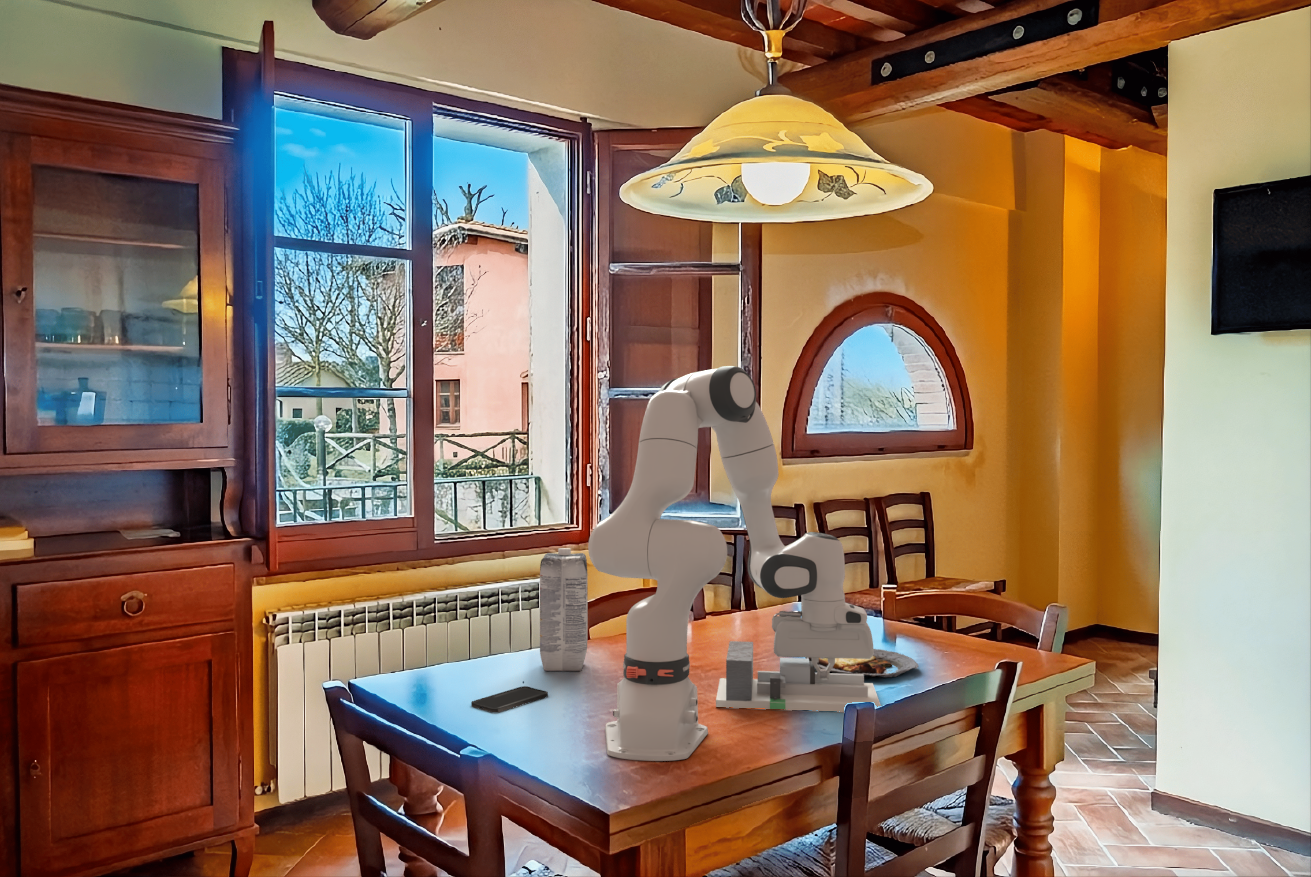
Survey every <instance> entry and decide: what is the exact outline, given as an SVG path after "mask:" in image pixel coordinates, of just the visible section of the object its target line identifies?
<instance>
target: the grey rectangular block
mask: <svg viewBox="0 0 1311 877" xmlns="http://www.w3.org/2000/svg"><path fill="white" fill-rule="evenodd" d="M725 664H726V665H725V666H726V667H725V673H726V674H725V678H726V700H727V701H746V700H749V701H750V700H752V687H753V679H754V641H739V640H738V641H736V640H735V641H734V640H730V641H729V643H728V648H727V655H726V663H725Z"/></svg>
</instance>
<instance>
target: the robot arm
mask: <svg viewBox="0 0 1311 877" xmlns="http://www.w3.org/2000/svg"><path fill="white" fill-rule="evenodd" d="M756 390H757V389H756V386H755V383H754V381H753V379H752V377H751V376H750V375H749V374H748V372H746V370H744V369H743V368H741V367H740V366H736V365H735V366H733V365H727V366H726V365H725V366H724V365H723V366H720V367H718V368H711V369H707V370H699V371H698V370H697V371H695V372H691V373H689V374H688V373H687V374H685V375H683V376H681V377H678V378H672V379H671V380H668V381H667V382H666V383H664V384H663V385H662V386H661V387H660V388H659V390H658V391H657V393H654V394H653V395H652V396H651V397H650V398H649V400H648V403H647V405H646V408H645V413H644V416H643V419H642V423H641V427H640V432H639V433H640V434H639V438H638V445H637V446H638V447H637V456H636V462H635V468H634V473H633V478H632V480H631V481H632V482H631V485H630V487H629V489H628V492H627V494H626V495H625V497H624V499H623V500H622V502H621V503H620V504H619V505H618V507H617V508H616V509H615V510H614V511H613V512H612V513H611V514H609V515H608V516H607V517H606V518H604V519H603V520H600V522H598V523H597V524H596V526H595V527H593V529H592V531H591V534H590V536H589V538H588V549H587V550H588V555H589V559H590V562H591V563H592V565H593V567H594V568H595V569H596V570H597V571H598V572H601V573H604V574H606V575H611V576H615V577H619V578H623V579H624V578H625V579H626V578H627V579H646V580H655V581H657V582H656V583H657V588H656V592H655V593H654V594H653V595H650V596H648V597H646V598H643V599H642V600H640V601H638V602H637V603H635V604H634V605H633V606H631V608H630V609H629V611H628V612H627V616H626V619H625V620H626V621H625V622H626V633H625V634H626V644H625V645H626V651H625V654H624V658H623V662H622V663H623V665H622V667H623V671H622V672H623V674H622V675H623V678H622V680H620V681H619V682H617V683H616V684H617V685H616V690H617V691H616V692H617V694H616V709H613V710H612V716H613V718H616V720H612V721H608V722H606V723H605V726H604V727H605V728H604V732H605V743H606V753H607V755H608V756H611V757H613V758H617V759H623V760H624V759H625V760H633V761H645V762H646V761H648V762H649V761H650V762H651V761H652V762H654V761H655V762H663V761H664V762H666V761H667V762H668V761H669V762H671V761H680V760H685V759H688V758H689V757H690V756H691V755H692V753H693V752H694V751H695V750H696V749H697V747H698V746H699V745H700V744H701V742H702V741H703V740H704V739H705V737H706V736H707V735H708V734H709V729H708V728H709V727H708V726H706V725H704V724H701V723H699V709H698V708H699V707H698V706H699V704H698V702H699V701H698V687H697V685H696V684H695V683H694V682H692V681H691V678H690V677H689V676H690V666H691V664H690V663H691V662H690V655H689V654H688V630H689V628H688V627H689V617H690V612H691V610H692V606H693V604H694V601H695V599H696V597H697V596H698V594H699V593H700V592H701V590H702V589H703V588H704V587H705V586H706V585H707V584H708V583H710V581H712V580H714V579H715V578H717V576H718V575H719V574H720V573H721V572H722V570H723V569H724V567H725V564H726V562H727V557H728V545H727V540H726V538H725V536H724V535H723V533H722V531H721V530H720V529H719V527H717V526H716V525H713V524H710V523H706V522H701V521H696V520H692V519H691V520H689V519H671V518H670V519H669V518H667V519H666V518H665V519H664V518H661V517H662V515H663V514H664V512H665V511H666V509H667V508H669V507H670V506H671V505H673V504H675V503H678V502H680V501H682V500H683V499H685V498H686V497H687V496H688V495H689V494H690V493H691V491H692V490H693V488H694V485H695V476H696V467H697V466H696V463H697V457H698V456H697V455H698V454H697V453H698V442H699V440H698V439H699V429H700V428H701V429H703V428H711V429H712V430H713V431H714V432H715V434H716V441H717V446H718V451H719V456H720V459H721V462H722V466H723V469H724V471H725V474H726V476H727V479H728V482H729V483H730V485H731V488H732V490H733V492H734V494H735V496H736V498H737V500H738V502H739V504H740V506H741V508H740V509H741V512H742V515H743V520H744V524H745V528H746V532H747V535H748V536H747V537H748V540H749V553H748V558H747V572H748V575H749V578H750V579H751V581H752V583H754V584H755V585H756V586H757V587H759V588H760V589H762V590H763V591H765V593H767V594H768V595H769V596H772V597H774V598H777V599H787V598H788V599H790V598H794V597H798V596H800V597H801V599H800V600H801V603H800V606H801V608H800V611H799V610H793V611H792V610H791V611H787V610H780V611H779V612H777V613H775V614H774V615H773V616H772V618H771V628H772V630H773V632H774V638H773V639H774V640H773V653H774V654H775V656H776V657H779V658H805V657H810V658H812V664H813V665H814V667H815V672H816V673H817V679H830V672H832V671H831V669H832V667H833V666H834V664H835V658H852V659H870V658H871V657H872V656H873V654H874V649H875V648H874V640H873V635H872V631H871V628H870V626H869V624H868V613H867V611H866V610H865V609H864V608H863V607H860V606H857V605H854V604H851V603H849V602H846V595H845V591H844V581H845V577H846V565H845V564H846V563H845V553H844V552H845V551H844V546H843V542H841V540H840V539H839V538H837V537H836V536H834V535H831V534H827V533H822V532H817V531H816V532H815V531H809V532H805V533H804V534H803V536H801V537H800V538H798V539H797V540H795V541H794V542H792V543H789V544H788V545H785V544H784V543H783V542H782V540H781V538H780V536H779V531H778V528H777V524H776V519H775V515H774V510H773V506H772V493H773V492H772V491H773V489H774V486H775V484H776V482H777V481H778V478H779V474H780V473H779V463H778V456H777V451H776V447H775V444H774V440H773V436H772V434H771V430H770V428H769V425H768V422H767V420H766V417H765V415H764V413H763V411H762V409H761V407H760V405H759V403H758V402H757V391H756ZM819 658H828V663H829V664H828V666H827V668H826V669H821V668H819V666H818V664H817V663H819Z"/></svg>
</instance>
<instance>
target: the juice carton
mask: <svg viewBox="0 0 1311 877" xmlns="http://www.w3.org/2000/svg"><path fill="white" fill-rule="evenodd" d="M571 549H572V548H570V547H569V548H567V547H566V548H564V547H562V548H558V549H557V553H553V552H547V553H545V554H544V556H543V557H542V559H541V560H540V563H539V564H540V565H539V567H540V569H539V655H540V659H541V664H542V668H543V671H545V672H546V671H547V672H561V671H562V672H567V671H568V672H580V671H582V669H583V666H584V662H585V660H586V654H587V651H588V562H587V559H588V558H587V556H586V554H585V553H583V552H578V553H571V552H572V551H571Z"/></svg>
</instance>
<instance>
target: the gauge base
mask: <svg viewBox="0 0 1311 877" xmlns="http://www.w3.org/2000/svg"><path fill="white" fill-rule="evenodd" d="M770 674H778V675H780V671H779V670H778V671H776V670H775V671H774V670H771V671H770V670H757V678H756V679H755V678H753V687H752V700H750V701H749V700H746V701H727V700H726V677H725V678H723V677H722V678H721V677H720V678H719V680H718V681H719V682H718V687H717V693H716V697H715V708H716V707H726V708H725V709H730V708H729V707H733V708H732V709H739V708H765V709H764V710H766V709H784V710H783V711H792V710H812V711H811V712H819V711H837V712H836V713H845V712H844V707H845V705H846V704H847V703H852V702H874V703H875V705H876V706H877V707H878V706H881V707H882V705H881V703H880V700H879V696H878V694H877V691H876V688H875V686H874V683H873V682H865V675H863V674H840V673H836V672H832V673H830V679H817V672H815V684H793V683H785V688H780V699H777V700H774V698H770ZM785 709H786V710H785ZM788 709H790V710H788ZM816 710H818V711H816ZM839 711H840V712H839Z"/></svg>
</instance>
